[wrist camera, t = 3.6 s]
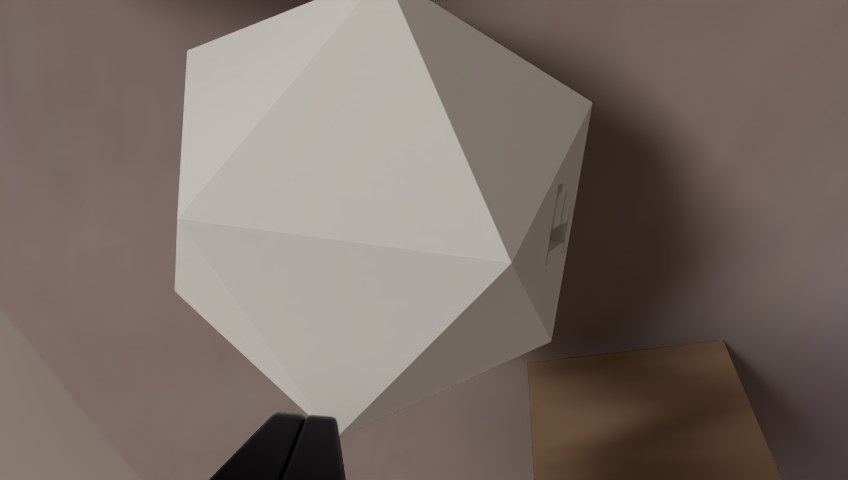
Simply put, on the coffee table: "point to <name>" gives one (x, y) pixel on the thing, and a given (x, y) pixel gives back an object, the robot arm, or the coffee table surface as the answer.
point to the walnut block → (645, 417)
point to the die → (374, 201)
